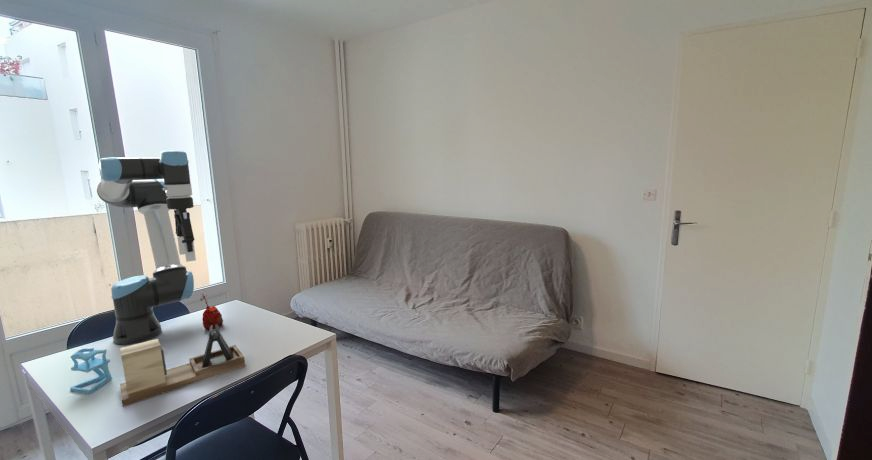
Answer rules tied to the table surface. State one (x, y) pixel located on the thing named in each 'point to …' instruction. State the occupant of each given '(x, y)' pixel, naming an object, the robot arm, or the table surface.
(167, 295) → the robot arm
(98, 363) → the chair
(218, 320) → the red clay folk toy
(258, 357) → the table surface
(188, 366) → the wooden desk organizer
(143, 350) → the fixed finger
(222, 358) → the dark grey a-frame stand
